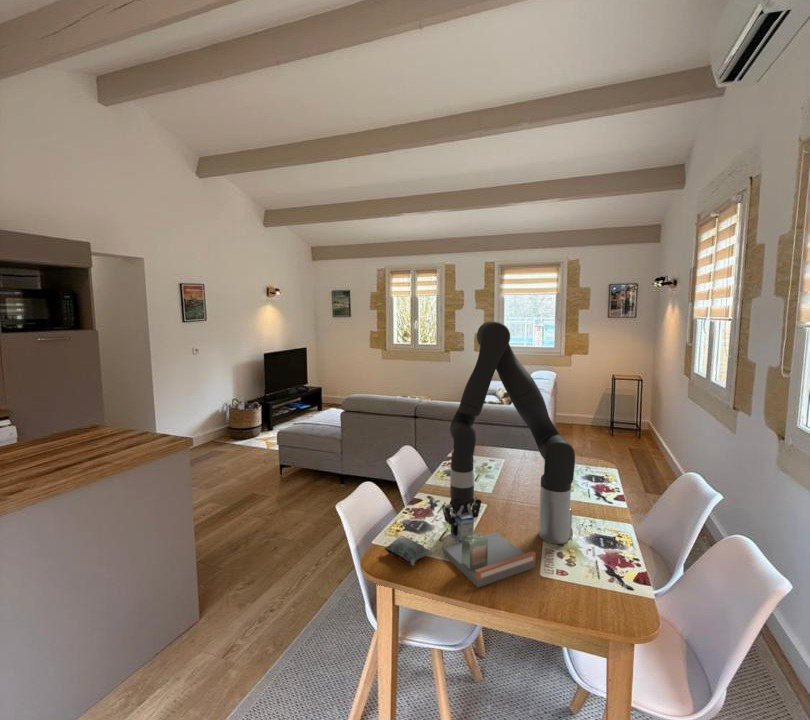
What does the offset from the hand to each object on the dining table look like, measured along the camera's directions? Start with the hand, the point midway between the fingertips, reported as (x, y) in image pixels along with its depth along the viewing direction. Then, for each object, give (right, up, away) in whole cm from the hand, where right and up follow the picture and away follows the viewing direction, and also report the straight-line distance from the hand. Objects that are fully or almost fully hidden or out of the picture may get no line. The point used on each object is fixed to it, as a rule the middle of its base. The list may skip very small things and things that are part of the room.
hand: (461, 532), depth 142 cm
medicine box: (0, -2, 0) cm, 2 cm away
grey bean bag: (-18, -4, -10) cm, 20 cm away
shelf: (+6, -3, -12) cm, 14 cm away
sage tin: (+1, -2, -18) cm, 18 cm away
